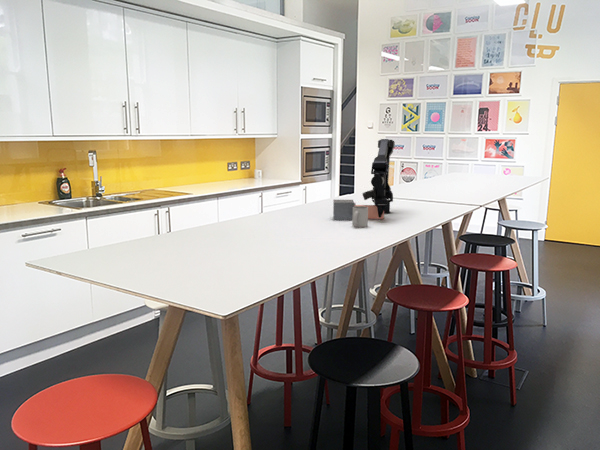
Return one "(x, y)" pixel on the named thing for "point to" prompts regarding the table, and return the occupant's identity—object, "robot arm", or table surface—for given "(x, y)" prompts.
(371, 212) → the pink ridged slab
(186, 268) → the table surface
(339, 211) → the dark grey block
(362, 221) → the cup
